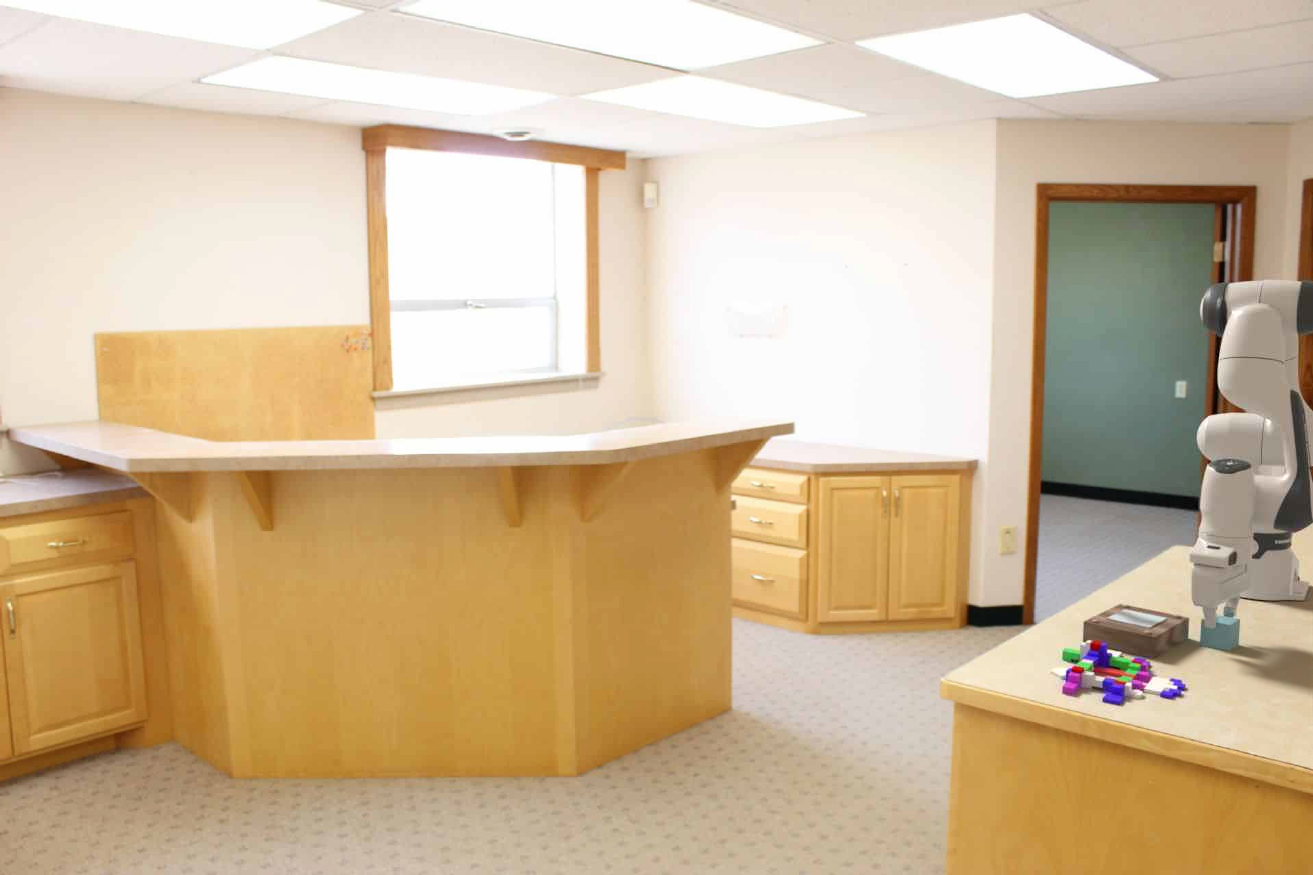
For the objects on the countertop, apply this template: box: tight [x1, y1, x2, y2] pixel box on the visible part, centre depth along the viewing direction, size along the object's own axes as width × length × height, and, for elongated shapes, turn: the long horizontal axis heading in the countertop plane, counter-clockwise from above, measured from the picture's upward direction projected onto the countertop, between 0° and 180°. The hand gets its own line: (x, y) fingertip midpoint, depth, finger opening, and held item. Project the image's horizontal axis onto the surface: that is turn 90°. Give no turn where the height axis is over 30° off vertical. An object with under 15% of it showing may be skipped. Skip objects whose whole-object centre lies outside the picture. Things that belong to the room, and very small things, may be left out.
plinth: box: [1082, 603, 1190, 659], centre depth 198 cm, size 16×13×4 cm
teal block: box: [1199, 614, 1241, 652], centre depth 195 cm, size 5×5×5 cm
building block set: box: [1050, 640, 1186, 706], centre depth 179 cm, size 25×20×4 cm
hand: (1220, 621), depth 194 cm, fingers open, 8 cm apart
